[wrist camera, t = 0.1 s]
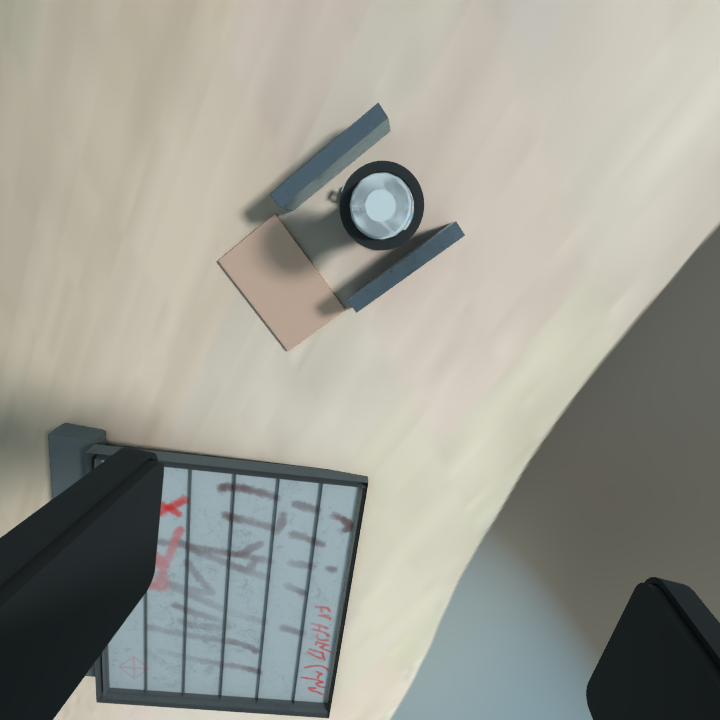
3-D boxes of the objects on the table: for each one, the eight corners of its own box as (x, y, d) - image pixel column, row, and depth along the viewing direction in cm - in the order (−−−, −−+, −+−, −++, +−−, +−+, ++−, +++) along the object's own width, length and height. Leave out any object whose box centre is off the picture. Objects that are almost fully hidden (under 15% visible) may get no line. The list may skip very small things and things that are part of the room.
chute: (381, 117, 34) (378, 102, 30) (458, 235, 36) (464, 235, 32) (284, 198, 37) (270, 194, 33) (361, 304, 38) (356, 312, 35)
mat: (275, 214, 37) (274, 213, 37) (345, 309, 39) (345, 310, 38) (219, 260, 39) (218, 260, 38) (288, 350, 40) (287, 351, 40)
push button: (330, 216, 37) (303, 210, 27) (362, 156, 35) (346, 127, 26) (397, 258, 37) (394, 266, 27) (432, 201, 35) (441, 188, 26)
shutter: (364, 449, 49) (74, 416, 47) (368, 481, 42) (29, 445, 40) (330, 674, 56) (79, 655, 54) (328, 732, 50) (41, 714, 47)
